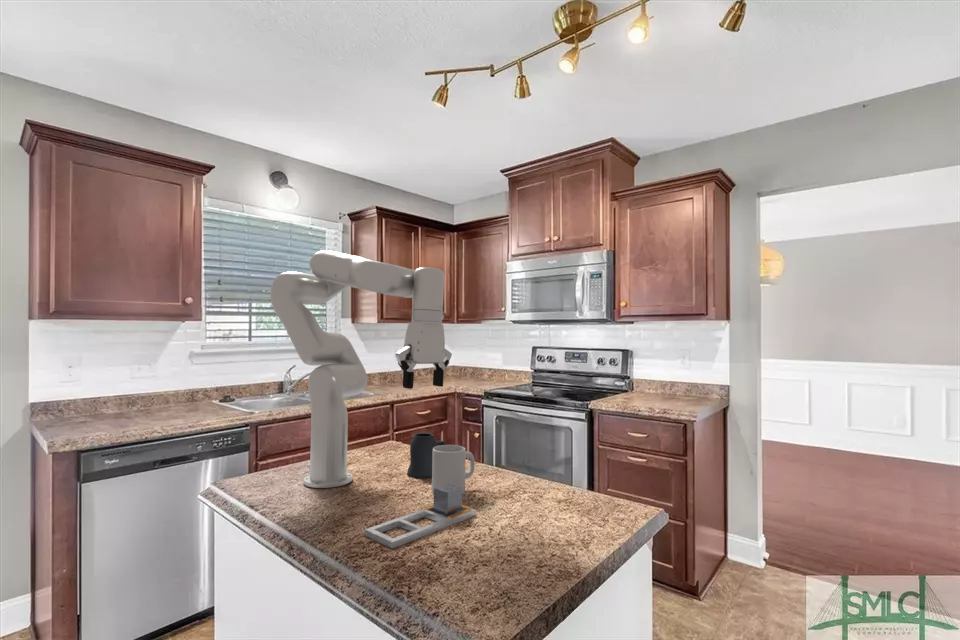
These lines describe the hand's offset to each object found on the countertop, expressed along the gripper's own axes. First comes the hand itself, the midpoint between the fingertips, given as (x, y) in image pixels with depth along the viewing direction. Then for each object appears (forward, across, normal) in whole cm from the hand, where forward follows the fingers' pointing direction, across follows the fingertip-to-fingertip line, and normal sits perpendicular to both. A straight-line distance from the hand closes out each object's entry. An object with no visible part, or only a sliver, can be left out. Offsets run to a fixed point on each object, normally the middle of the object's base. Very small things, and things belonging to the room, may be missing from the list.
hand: (423, 387), depth 117 cm
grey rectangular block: (+26, +3, +14) cm, 30 cm away
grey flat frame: (+26, +10, +14) cm, 32 cm away
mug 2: (+28, -16, -14) cm, 35 cm away
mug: (+27, -10, +3) cm, 29 cm away
